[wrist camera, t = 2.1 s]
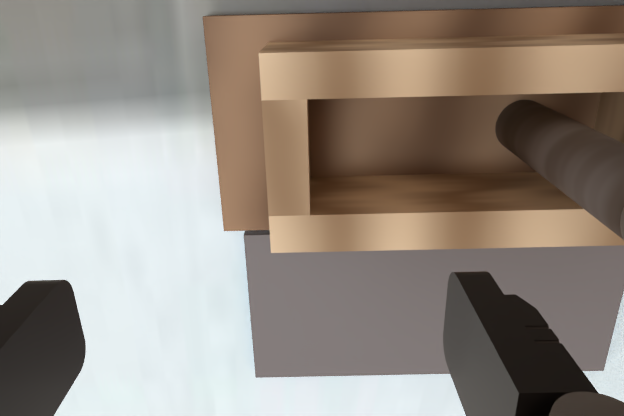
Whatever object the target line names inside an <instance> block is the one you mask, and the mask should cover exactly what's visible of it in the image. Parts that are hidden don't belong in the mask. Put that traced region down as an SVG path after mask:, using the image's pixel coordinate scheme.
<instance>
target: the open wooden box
mask: <svg viewBox="0 0 624 416" xmlns="http://www.w3.org/2000/svg"><path fill="white" fill-rule="evenodd" d="M259 68H260V85H261V101H262V117H263V133H264V149H265V166H266V182H267V198H268V214H269V230H270V246H271V253H294V252H340V251H386V250H432V249H478V248H524V247H570V246H616V245H624V240H623V239H622V238H620V237H619V236H618V235H617V234H615V233H614V232H613V231H611V230H610V229H609V228H608V227H606V226H605V225H604V224H602V223H601V222H600V221H599V220H597V219H596V218H595V217H594V216H592V215H591V214H590V213H588V212H587V211H586V210H585V209H583V208H582V207H581V206H580V205H578V204H577V203H576V202H574V201H573V200H572V199H571V198H569V197H568V196H567V195H565V194H564V193H563V192H562V191H560V190H559V189H558V188H557V187H555V186H554V185H553V184H551V183H550V182H549V181H548V180H546V179H545V178H544V177H542V176H541V175H540V174H539V173H537V172H514V173H471V174H427V175H383V176H339V177H310V148H309V110H308V99H346V98H388V97H429V96H471V95H513V94H554V93H596V92H601V95H600V101H599V106H598V111H597V116H596V121H595V126H594V130H596V131H598V132H601V133H603V134H605V135H607V136H609V137H611V138H613V139H615V140H617V141H620V142H622V143H624V33H615V34H575V35H535V36H495V37H455V38H414V39H374V40H334V41H294V42H268V43H267V44H266V46H265V47H264V48H263V49H262V50H261V51H260V52H259Z"/></svg>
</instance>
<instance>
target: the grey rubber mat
mask: <svg viewBox="0 0 624 416" xmlns="http://www.w3.org/2000/svg"><path fill="white" fill-rule="evenodd" d="M244 243H245V255H246V267H247V279H248V291H249V303H250V315H251V327H252V339H253V351H254V362H255V374H256V377H302V376H352V375H403V374H450V371H449V369H448V366H447V363H446V360H445V355H444V347H443V330H444V319H445V308H446V298H447V287H448V279H449V276H450V274H451V273H452V272H479V271H487V272H489V273H490V274H491V275H492V277H493V278H494V280H495V282H496V283H497V285H498V286H499V288H500V289H501V291H502V292H503V294H504V295H510V294H516V295H517V296H519V297H520V298H522V299H523V300H525V301H526V302H528V303H529V304H531V305H532V306H533V307H535V308H536V309H537V310H538V311H539V313H540V314H541V316H542V317H543V318H544V320H545V321H546V322H547V324H548V325H549V329H552V331H553V332H554V333H555V335H556V336H557V337H558V339H559V343H562V344H563V346H564V347H565V348H566V350H567V351H568V352H569V354H570V355H571V357H572V358H573V359H574V361H575V362H576V363H577V365H578V366H579V367H580V369H581V370H582V371H604V367H605V363H606V359H607V355H608V351H609V347H610V343H611V339H612V335H613V330H614V326H615V322H616V318H617V314H618V310H619V306H620V302H621V298H622V294H623V290H624V245H616V246H570V247H524V248H478V249H432V250H386V251H340V252H294V253H271V246H270V230H266V231H245V233H244Z"/></svg>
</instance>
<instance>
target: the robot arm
mask: <svg viewBox="0 0 624 416" xmlns="http://www.w3.org/2000/svg"><path fill="white" fill-rule="evenodd" d="M443 347H444V355H445V360H446V363H447V366H448V369H449V371H450V374H451V377H452V379H453V382H454V385H455V387H456V390H457V393H458V395H459V398H460V401H461V403H462V406H463V409H464V411H465V414H466V416H624V403H623V402H622V401H619V400H617V399H615V398H612V397H609V396H606V395H603V394H599V393H598V392H597V391H596V389H595V388H594V387H593V385H592V384H591V382H590V381H589V380H588V378H587V377H586V376H585V374H584V373H583V372H582V370H581V369H580V367H579V366H578V365H577V363H576V362H575V361H574V359H573V358H572V357H571V355H570V354H569V352H568V351H567V350H566V348H565V347H564V346H563V344H562V343H559V339H558V337H557V336H556V335H555V333H554V332H553V331H552V329H549V325H548V324H547V322H546V321H545V320H544V318H543V317H542V316H541V314H540V313H539V311H538V310H537V309H536V308H535V307H533V306H532V305H531V304H529V303H528V302H526V301H525V300H523V299H522V298H520V297H519V296H517V295H516V294H510V295H504V294H503V292H502V291H501V289H500V288H499V286H498V285H497V283H496V282H495V280H494V278H493V277H492V275H491V274H490V273H489V272H487V271H479V272H452V273H451V274H450V276H449V279H448V287H447V298H446V308H445V319H444V330H443ZM84 359H85V339H84V335H83V330H82V326H81V322H80V318H79V313H78V309H77V305H76V301H75V296H74V292H73V289H72V286H71V285H70V283H69V282H68V281H66V280H42V281H27V282H25V283H24V284H23V285H22V286H21V287H20V288H19V289H18V290H17V291H16V292H15V293H14V294H13V295H12V296H11V297H10V298H9V299H8V300H7V301H6V302H5V303H4V304H3V305H0V416H54V414H55V412H56V411H57V409H58V407H59V406H60V404H61V402H62V401H63V399H64V398H65V396H66V394H67V393H68V391H69V389H70V388H71V386H72V384H73V383H74V381H75V379H76V378H77V376H78V374H79V373H80V371H81V369H82V366H83V363H84Z"/></svg>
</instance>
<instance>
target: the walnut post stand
mask: <svg viewBox="0 0 624 416" xmlns="http://www.w3.org/2000/svg"><path fill="white" fill-rule="evenodd" d="M203 25H204V35H205V45H206V55H207V65H208V75H209V85H210V95H211V105H212V115H213V125H214V135H215V145H216V155H217V165H218V175H219V185H220V195H221V205H222V215H223V225H224V231H243V230H269V214H268V198H267V182H266V166H265V149H264V133H263V117H262V101H261V85H260V68H259V52H260V51H261V50H262V49H263V48H264V47H265V46H266V44H267V43H268V42H294V41H334V40H374V39H414V38H455V37H495V36H535V35H575V34H615V33H624V5H615V6H576V7H536V8H497V9H457V10H418V11H378V12H339V13H299V14H260V15H220V16H203ZM600 95H601V92H596V93H554V94H513V95H471V96H429V97H388V98H346V99H308V110H309V148H310V177H339V176H383V175H427V174H471V173H514V172H537V173H539V174H540V175H541V176H542V177H544V178H545V179H546V180H548V181H549V182H550V183H551V184H553V185H554V186H555V187H557V188H558V189H559V190H560V191H562V192H563V193H564V194H565V195H567V196H568V197H569V198H571V199H572V200H573V201H574V202H576V203H577V204H578V205H580V206H581V207H582V208H583V209H585V210H586V211H587V212H588V213H590V214H591V215H592V216H594V217H595V218H596V219H597V220H599V221H600V222H601V223H602V224H604V225H605V226H606V227H608V228H609V229H610V230H611V231H613V232H614V233H615V234H617V235H618V236H619V237H620V238H622V239H623V240H624V143H622V142H620V141H617V140H615V139H613V138H611V137H609V136H607V135H605V134H603V133H601V132H598V131H596V130H594V126H595V121H596V116H597V111H598V106H599V101H600Z"/></svg>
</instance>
